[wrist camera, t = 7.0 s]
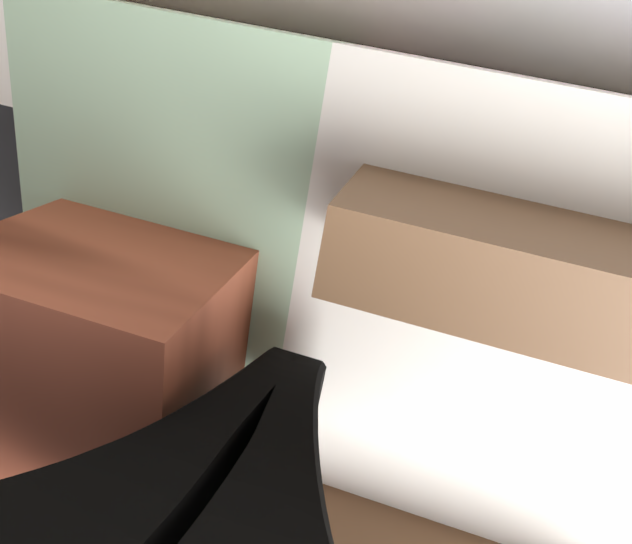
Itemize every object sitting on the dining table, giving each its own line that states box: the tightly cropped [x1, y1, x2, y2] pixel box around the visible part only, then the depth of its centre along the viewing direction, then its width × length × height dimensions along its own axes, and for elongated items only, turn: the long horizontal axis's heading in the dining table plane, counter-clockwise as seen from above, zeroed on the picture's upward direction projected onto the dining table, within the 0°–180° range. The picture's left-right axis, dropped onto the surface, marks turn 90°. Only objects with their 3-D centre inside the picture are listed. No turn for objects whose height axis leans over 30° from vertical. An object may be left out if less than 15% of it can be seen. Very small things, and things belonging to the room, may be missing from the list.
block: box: [0, 198, 259, 479], centre depth 11 cm, size 5×5×4 cm
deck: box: [0, 0, 632, 544], centre depth 12 cm, size 14×33×6 cm, turn 81°
